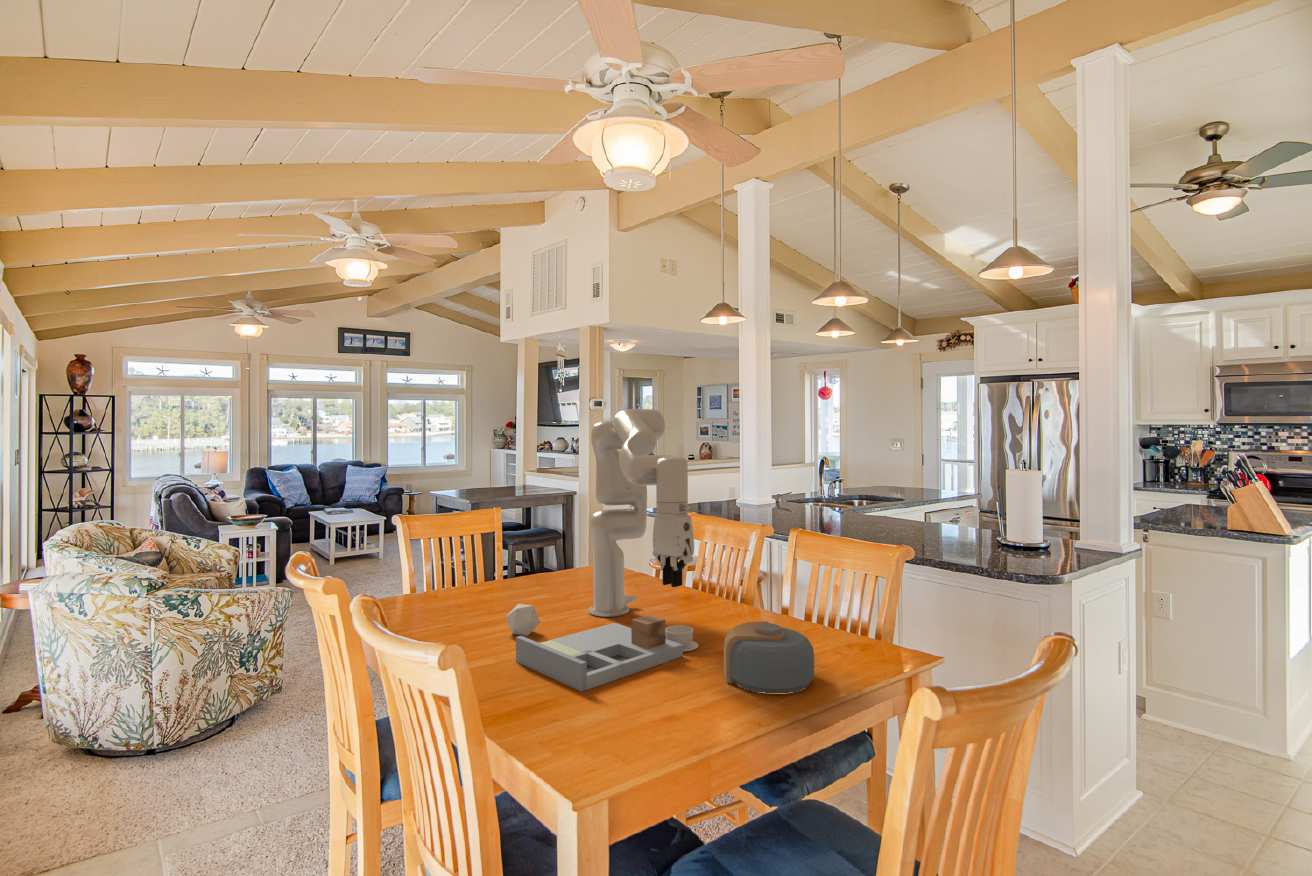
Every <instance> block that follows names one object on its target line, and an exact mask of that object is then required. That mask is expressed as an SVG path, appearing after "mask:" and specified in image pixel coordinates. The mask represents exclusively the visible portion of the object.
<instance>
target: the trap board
mask: <svg viewBox="0 0 1312 876" xmlns="http://www.w3.org/2000/svg"><path fill="white" fill-rule="evenodd" d="M665 642H666V644H662V645H659V646H656V647H653V648H650V649H646V648H643V647H640V646H637V645H635V644H632V642H631V627H628V626H626V625H622V624H620V623H616V622H612V623H610V624H605V625H601V626H598V627H593V628H590V629H586V630H582V631H579V632H575V633H572V634H568V635H564V636H561V637H560V636H559V637H557V638H553V639H550V640H546V641H543V642H538V641H535V640H532V639H530V638H528V637H527V636H523V635H517V636H515V662H516V663H518V664H520V665H523V666H525V667H527V668H530V669H531V670H534V671H535V672H538V673H540V674H542V675H544V676H546V677H548V678H551V679H554V680H555V681H557V682H559V683H561V684H564V685H566V686H568V687H570V688H572V689H575V690H577V691H580V692H584V691H587V690H590V689H592V688H593V689H594V688H596V687H599V686H602V685H605V684H608V683H611V682H614V681H616V680H618V679H622V678H625V677H628V676H630V675H633V674H636V673H639V672H642V671H646V670H648V669H651V668H653V666H654V667H656V665H657V666H660V665H663V664H665V663H668V662H670V660H671V661H673V659H674V660H676V658H677V659H680V658H682V657H681V656H683V653H684V652H683V644H680V643H676V642H673V641H670V640H667V639H666V638H665ZM679 657H680V658H679ZM659 664H660V665H659Z"/></svg>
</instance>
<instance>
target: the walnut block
mask: <svg viewBox="0 0 1312 876" xmlns="http://www.w3.org/2000/svg"><path fill="white" fill-rule="evenodd" d="M630 625H631V627H630V628H631V642H632V644H635V645H637V646H640V647H643V648H646V649H650V648H653V647H656V646H659V645H662V644H666V642H665V639H666V634H665V628H666V619H664V618H662V617H658V616H654V615H651V614H646V615H643V616H640V617H635V618H633V619H631V623H630Z"/></svg>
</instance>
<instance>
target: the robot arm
mask: <svg viewBox="0 0 1312 876" xmlns="http://www.w3.org/2000/svg"><path fill="white" fill-rule="evenodd" d="M665 429H666V422H665V418H664V416H663V414H662V413H661V412H660V411H659V410H656V409H655V408H653V409H651V408H648V409H647V408H628V409H627V408H626V409H622V410H620V411H619V412H617V413H616V415H615V416H614V417H613V420H603V421H599V422H596V423H595V424H594V425H593V426H592V428H591V433H590V434H591V435H590V443H591V446H592V450H593V452H594V457H595V462H596V463H595V497H596V498H595V499H596V501H597V503H598V504H600V505H602V506H629V508H612V509H611V508H610V509H601V510H598V511H596V512H594V513H593V514H592V515H591V517H590V519H589V527H590V534H591V542H592V552H593V553H592V558H593V559H592V560H593V561H592V562H593V567H592V568H593V570H592V571H593V572H592V573H593V576H592V577H593V579H592V580H593V605H590V606H589V608H588V613H589V614H590V615H592V616H595V617H602V618H603V617H604V618H606V617H607V618H610V617H612V618H613V617H619V616H620V617H621V616H623V615H627V614H628V613H629V612H630V606H628V604H629V603H631V602H635V601H636V599H637V596H636V595H635V594H631V595H627V594H625V554H624V552H623V549H622V548H621V547H620V546H619V544H618V543H617V541H621V540H622V541H623V540H635V539H641V538H642V537H643V536H644V535H645V533H646V530H647V529H646V528H647V520H648V519H647V517H648V516H647V514H648V512H647V511H648V510H647V509H648V508H647V507H648V487H647V486H656V488H655V489H656V502H655V503H656V513H655V515H654V520H653V529H652V549H653V550H652V556H653V557H655V558H656V559H657V561H658V562H659V564H660V568H661V569H662V585H663V586H668V585H670V586H671V587H672V588H677V587H682V586H683V570H684V569H685V567H686V566H687V564H689V563H692V562H694V558H693V555H694V553H695V540H694V539H695V538H694V528H693V522H692V517H691V514H689V513H688V512H689V511H690V509H691V507H690V505H689V503H688V502H689V501H688V499H689V498H688V497H689V496H688V495H689V493H688V492H689V489H688V488H689V486H688V482H689V478H688V475H689V474H688V473H689V472H688V470H689V467H688V461H687V459H686V458H685V457H682V456H681V457H680V456H676V455H673V454H652V452H653V451H654V450H655V448H656V445H657V441H658V440H660V438H662V437H663V435H664V433H665Z"/></svg>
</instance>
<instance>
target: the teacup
mask: <svg viewBox="0 0 1312 876" xmlns="http://www.w3.org/2000/svg"><path fill="white" fill-rule="evenodd" d="M694 630H695V629H694V628H693V627H691V626H690V625H689V626H688V625H683V624H678V625H677V624H675V625H670V626H669V625H668V626H667V627H665V639H667V640H670V641H673V642H676V643H680V644H683V653H684V652H685V653H686V652H690V651H694V650H696V649H697V648H699V644H698V642H696V641H694V640H693V637H694Z"/></svg>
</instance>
